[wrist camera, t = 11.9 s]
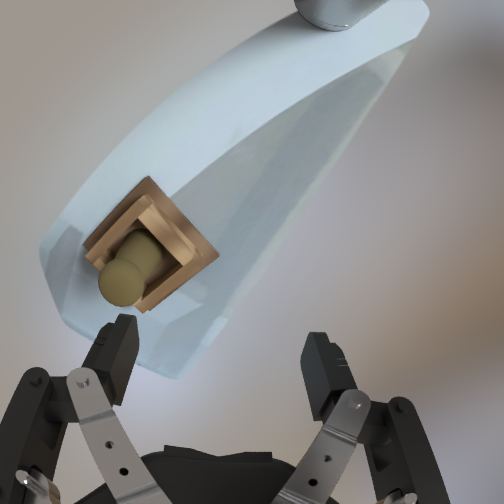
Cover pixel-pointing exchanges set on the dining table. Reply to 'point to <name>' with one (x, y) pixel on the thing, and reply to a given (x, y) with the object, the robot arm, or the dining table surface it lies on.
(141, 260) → the cork
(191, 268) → the shaker caddy
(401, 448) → the robot arm
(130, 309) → the dining table surface
